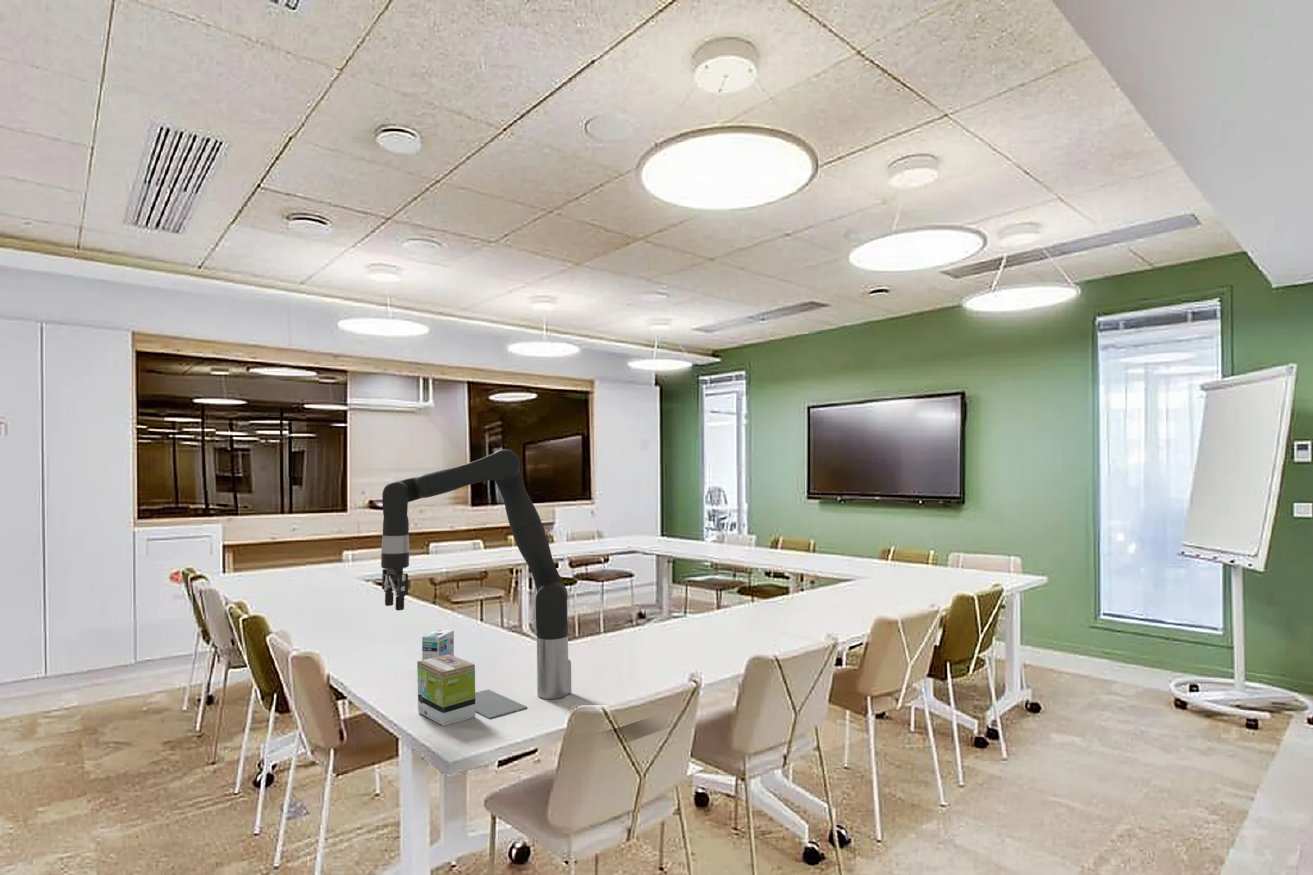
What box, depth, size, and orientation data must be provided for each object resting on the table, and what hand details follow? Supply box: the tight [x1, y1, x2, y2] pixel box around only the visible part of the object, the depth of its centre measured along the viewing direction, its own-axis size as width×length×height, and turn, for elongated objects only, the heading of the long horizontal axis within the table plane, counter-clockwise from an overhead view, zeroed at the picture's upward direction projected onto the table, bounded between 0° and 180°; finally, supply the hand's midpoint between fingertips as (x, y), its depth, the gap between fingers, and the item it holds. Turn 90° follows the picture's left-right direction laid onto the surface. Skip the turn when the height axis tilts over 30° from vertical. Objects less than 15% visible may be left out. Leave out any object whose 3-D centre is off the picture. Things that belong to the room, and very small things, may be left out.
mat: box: [475, 689, 528, 720], centre depth 208 cm, size 12×22×1 cm, turn 42°
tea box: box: [416, 654, 476, 727], centre depth 199 cm, size 15×10×15 cm
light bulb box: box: [421, 629, 455, 661], centre depth 250 cm, size 11×7×11 cm, turn 168°
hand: (394, 607), depth 208 cm, fingers open, 8 cm apart
